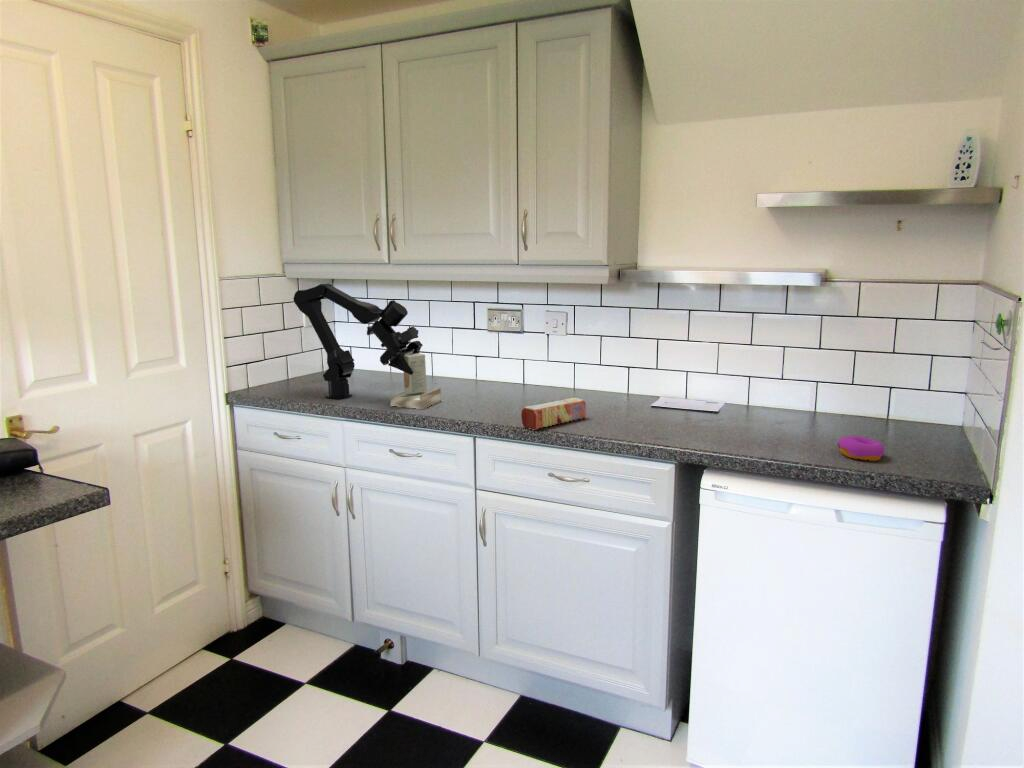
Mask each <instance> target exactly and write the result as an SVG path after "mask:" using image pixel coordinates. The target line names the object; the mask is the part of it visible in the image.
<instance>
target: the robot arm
mask: <svg viewBox="0 0 1024 768" xmlns="http://www.w3.org/2000/svg"><path fill="white" fill-rule="evenodd" d="M325 298H326V299H328V300H329V301H331V302H332V303H333V304H336V305H338V306H340V307H342V308H343V309H344V310H347V311H348V312H349V313H351V314H352V317H354V318H355V319H356V320H357V321H358V322H359V323H361V324H363V325H366V324H371V323H372V325H371V326H367V327H366V335H367V336H372V335H375V337H376V338H377V339H378V340H379V342H380V343H381V344H380V346H381V347H382V348H386V350H385V351H384V352H383V353H382V354H380V357H379V362H380V363H381V364H382V366H387V365H388V367H392V368H395V369H397V370H399V371H401V372H403V373H404V372H406V373H408V374H410V375H412V374H413V371H412V369H411V368H410V366H409V365H408V363H407V362H406V361H405V359H404V355H408V354H416V353H420V351H421V350H422V347H423V344H422V342H421V341H420V340H414V339H418V338H419V330H418V329H417V328H416V327H415V326H410V327H408V328H406V330H405V331H403V332H401V331H397V332H396V330H395V329H394V328H393V327H398V326H399V325H400V323H401V322H402V321H403V320H404V319H405V318H406V317H407V316H408V310H407V308H406V307H405V306H403V304H401V303H399V302H396V300H395V299H393V300H389V302H388V303H387V305H386V306H385V307H384V308H382V309H381V308H380V307H379V306H378V305H376V304H373V303H370V302H367V301H362V300H358V299H357V298H355V297H353V296H352V295H350V294H347V293H346V292H344V291H342V290H341V289H339V288H338V287H337V288H336V286H333V285H332V284H331V283H329V282H328V283H320V284H318V285H316V286H313V287H310V288H308V289H307V288H306V289H299V290H297V291H295V293H294V295H293V302H294V304H295V305H296V307H297V309H298V310H299V311H300V312H301V313H303V314H304V315H305V316H306V317H307V318H308V319H309V322H310V323H311V326H312V327H313V329H314V331H315V334H316V335H317V337H318V339H319V342H320V343H321V345H322V347H323V349H324V351H325V352H326V356H327V357H326V364H327V367H328V368H327V370H326V371H325V372H324V373H323V374H322V377H323V380H324V381H325V382H327V385H328V394H327V395H325V398H328V399H336V400H341V399H345V398H348V397H352V395H353V394H352V393H350V384H349V379H348V378H350V379H351V378H352V374H353V371H354V370H355V359H354V358H353V356H352V354H351V351H350V350H344V349H343V348H341V346H340V344H339V342H338V340H337V339H336V337H335V335H334V333H333V331H332V329H331V327H330V324H329V323H328V321H327V319H326V317H325V315H324V314H323V313H324V312H323V311H322V306H323V305H322V300H324V299H325ZM412 340H413V341H412Z"/></svg>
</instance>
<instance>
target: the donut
mask: <svg viewBox="0 0 1024 768" xmlns="http://www.w3.org/2000/svg"><path fill="white" fill-rule="evenodd" d="M837 446H838V449H839V450H840V452H841V454H843V455H844V456H845V457H847V458H849V459H852V458H853V460H858V459H860V460H861V461H867V460H869V461H868V462H877V461H879V460H881V458H882V457H883V456H884V455H885V447H884V445H883V443H881V442H880V441H877V440H874V439H871V438H868V437H865V436H859V435H858V436H855V435H854V436H853V435H850V436H843V437H841V438H840V439H838V442H837ZM860 460H859V461H860Z"/></svg>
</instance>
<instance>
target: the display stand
mask: <svg viewBox="0 0 1024 768" xmlns="http://www.w3.org/2000/svg"><path fill="white" fill-rule="evenodd" d="M441 389H442V388H441V387H437V388H435V389H432V390H430V391H423V392H416V393H408V392H405V391H403V392H401V393H398V394H395V395H393V396H390V397H389V399H390V400H389V401H390V407H391V406H397V407H396V408H401V407H406V408H405V409H412V408H416V409H415V410H425V408H426V409H427V407H428V408H430V407H432V406H434V405H437V404H438V402H439V403H440V401H441V402H442V395H441V394H442V390H441ZM436 403H437V404H436ZM431 405H432V406H431ZM429 406H430V407H429Z"/></svg>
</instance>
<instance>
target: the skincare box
mask: <svg viewBox="0 0 1024 768" xmlns="http://www.w3.org/2000/svg"><path fill="white" fill-rule="evenodd" d="M404 359H405V361H406V362H407V363H408V365H409V366H410V368H411V369H412V371H413V374H412V375H410V374H408V373H406V372H404V371H403V385H404V392H408V393H416V392H423V391H427V369H426V368H427V367H426V366H427V365H426V354H424V353H420V352H419V353H416V354H408V355H404ZM427 392H428V391H427Z"/></svg>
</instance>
